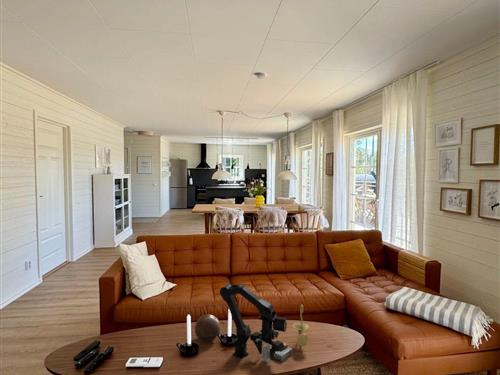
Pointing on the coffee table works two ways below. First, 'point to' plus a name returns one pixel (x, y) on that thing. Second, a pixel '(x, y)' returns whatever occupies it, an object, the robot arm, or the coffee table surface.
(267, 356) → the wedge pin
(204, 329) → the wooden sphere
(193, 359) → the coffee table surface
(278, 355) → the rosette plate
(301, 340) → the wall sconce
